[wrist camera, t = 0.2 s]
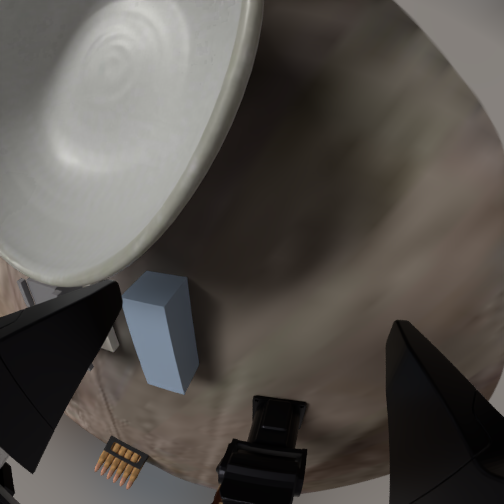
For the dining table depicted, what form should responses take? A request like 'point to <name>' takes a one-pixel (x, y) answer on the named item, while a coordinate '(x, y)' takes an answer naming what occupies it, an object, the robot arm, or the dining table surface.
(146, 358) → the blue tapered block
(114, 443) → the ammunition clip
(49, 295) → the white grey bracket mount
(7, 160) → the decorative bowl
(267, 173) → the dining table surface
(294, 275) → the dining table surface
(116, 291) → the robot arm
